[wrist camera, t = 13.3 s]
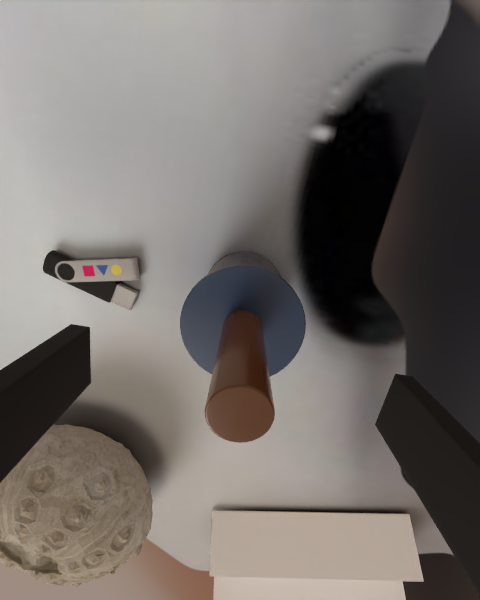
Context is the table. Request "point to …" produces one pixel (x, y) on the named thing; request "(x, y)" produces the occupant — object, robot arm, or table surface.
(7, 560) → the decorative shell
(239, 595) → the z bracket
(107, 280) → the usb flash drive
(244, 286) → the lid
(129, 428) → the table surface
